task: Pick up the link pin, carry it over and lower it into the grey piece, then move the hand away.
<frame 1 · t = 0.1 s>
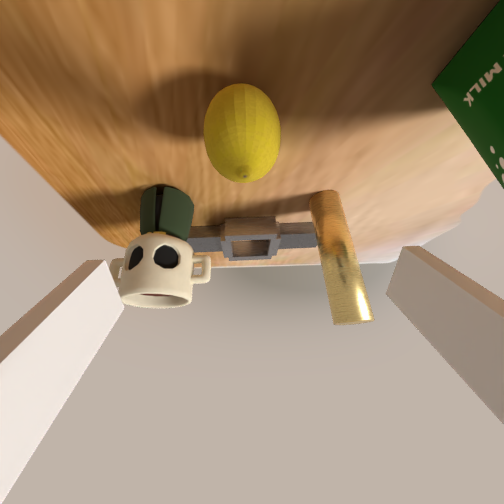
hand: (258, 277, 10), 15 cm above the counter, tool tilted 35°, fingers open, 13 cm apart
character mug: (169, 198, 28), on the counter
link pin: (323, 200, 30), on the counter
grey piece: (249, 232, 37), on the counter
lemon: (240, 99, 18), on the counter
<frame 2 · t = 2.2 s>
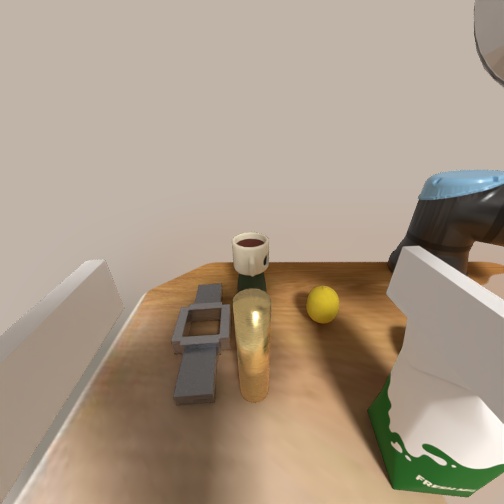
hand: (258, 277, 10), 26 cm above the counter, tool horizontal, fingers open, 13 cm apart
character mug: (252, 293, 49), on the counter
link pin: (254, 387, 31), on the counter
milk carton: (409, 448, 25), on the counter
grey piece: (205, 333, 39), on the counter
lemon: (319, 321, 41), on the counter
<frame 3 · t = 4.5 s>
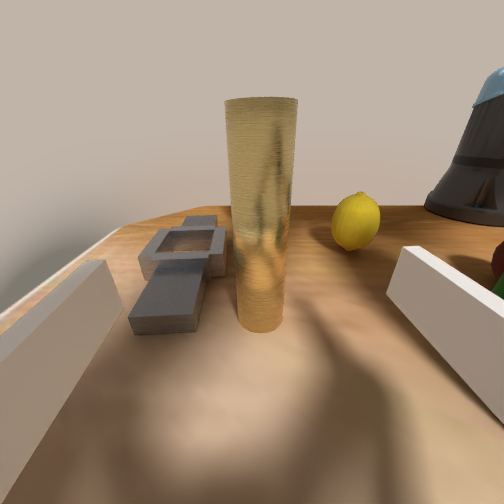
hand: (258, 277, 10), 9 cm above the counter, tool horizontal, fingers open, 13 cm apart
link pin: (260, 315, 20), on the counter
grey piece: (191, 261, 28), on the counter
lemon: (348, 252, 30), on the counter
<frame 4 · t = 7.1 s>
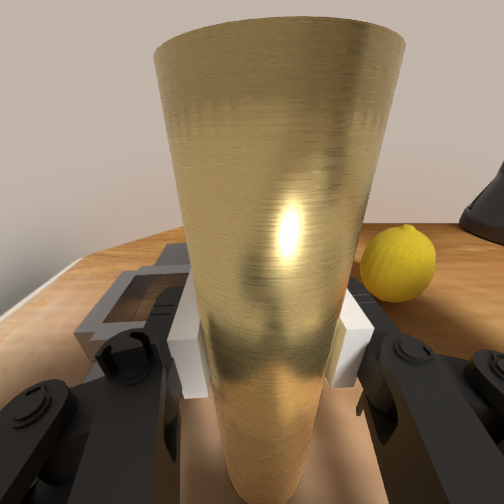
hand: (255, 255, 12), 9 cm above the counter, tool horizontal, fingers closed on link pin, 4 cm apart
link pin: (264, 452, 12), on the counter, touching gripper
grey piece: (164, 319, 20), on the counter
lemon: (382, 301, 22), on the counter
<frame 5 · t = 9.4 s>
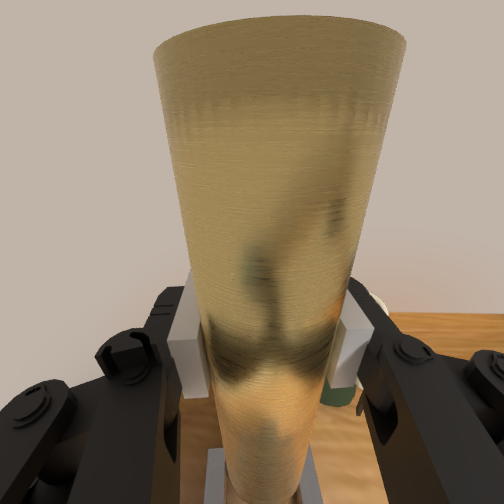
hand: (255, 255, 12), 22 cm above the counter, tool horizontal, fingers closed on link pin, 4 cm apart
character mug: (326, 383, 27), on the counter
link pin: (264, 453, 12), point 13 cm above the counter, touching gripper
when the fingers open (10 cm above the counter, at t = 12.2 s): link pin stays where it is, resting in grey piece.
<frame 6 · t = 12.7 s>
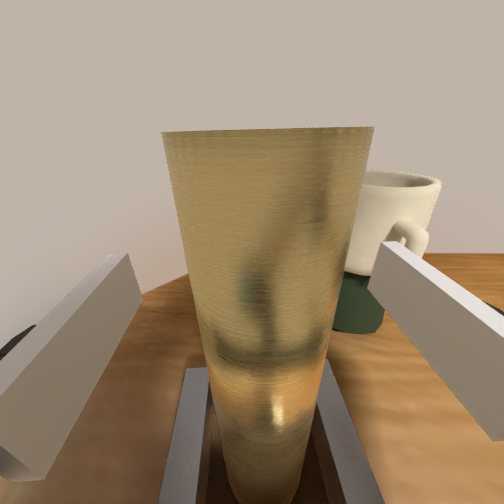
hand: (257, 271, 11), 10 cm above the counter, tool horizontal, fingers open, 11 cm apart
character mug: (343, 315, 22), on the counter
link pin: (263, 461, 12), resting in grey piece
grey piece: (263, 460, 12), on the counter
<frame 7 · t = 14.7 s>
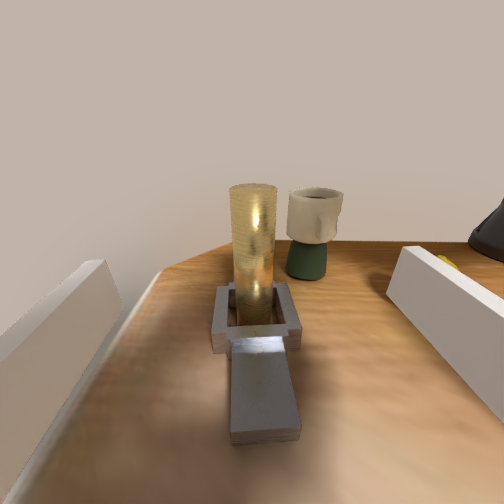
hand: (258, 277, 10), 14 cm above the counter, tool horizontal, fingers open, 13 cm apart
character mug: (304, 273, 36), on the counter
link pin: (254, 324, 26), resting in grey piece
grey piece: (254, 324, 26), on the counter
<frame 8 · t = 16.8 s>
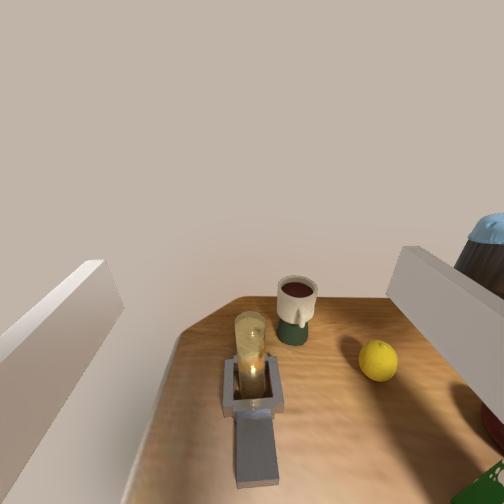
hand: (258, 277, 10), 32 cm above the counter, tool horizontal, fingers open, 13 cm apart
character mug: (292, 336, 46), on the counter
link pin: (252, 389, 37), resting in grey piece
grey piece: (252, 389, 37), on the counter
lemon: (371, 375, 39), on the counter
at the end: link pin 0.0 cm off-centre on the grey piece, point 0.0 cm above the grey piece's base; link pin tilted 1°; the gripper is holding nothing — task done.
